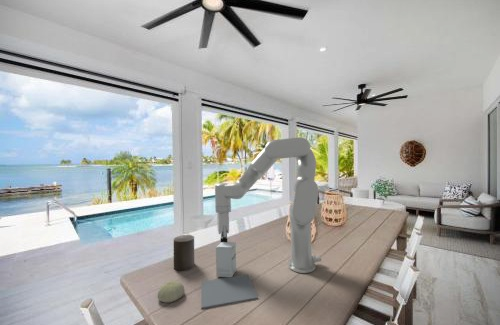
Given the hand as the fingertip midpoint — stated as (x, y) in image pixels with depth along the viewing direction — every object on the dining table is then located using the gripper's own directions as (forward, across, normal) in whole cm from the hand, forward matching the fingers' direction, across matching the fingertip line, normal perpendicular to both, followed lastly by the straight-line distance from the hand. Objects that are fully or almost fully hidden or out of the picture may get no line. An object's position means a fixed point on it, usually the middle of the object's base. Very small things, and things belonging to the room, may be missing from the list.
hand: (224, 245), depth 101 cm
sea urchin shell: (+9, +19, -22) cm, 31 cm away
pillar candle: (+9, -4, -19) cm, 22 cm away
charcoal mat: (+9, +21, -1) cm, 23 cm away
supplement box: (+9, +9, 0) cm, 13 cm away
